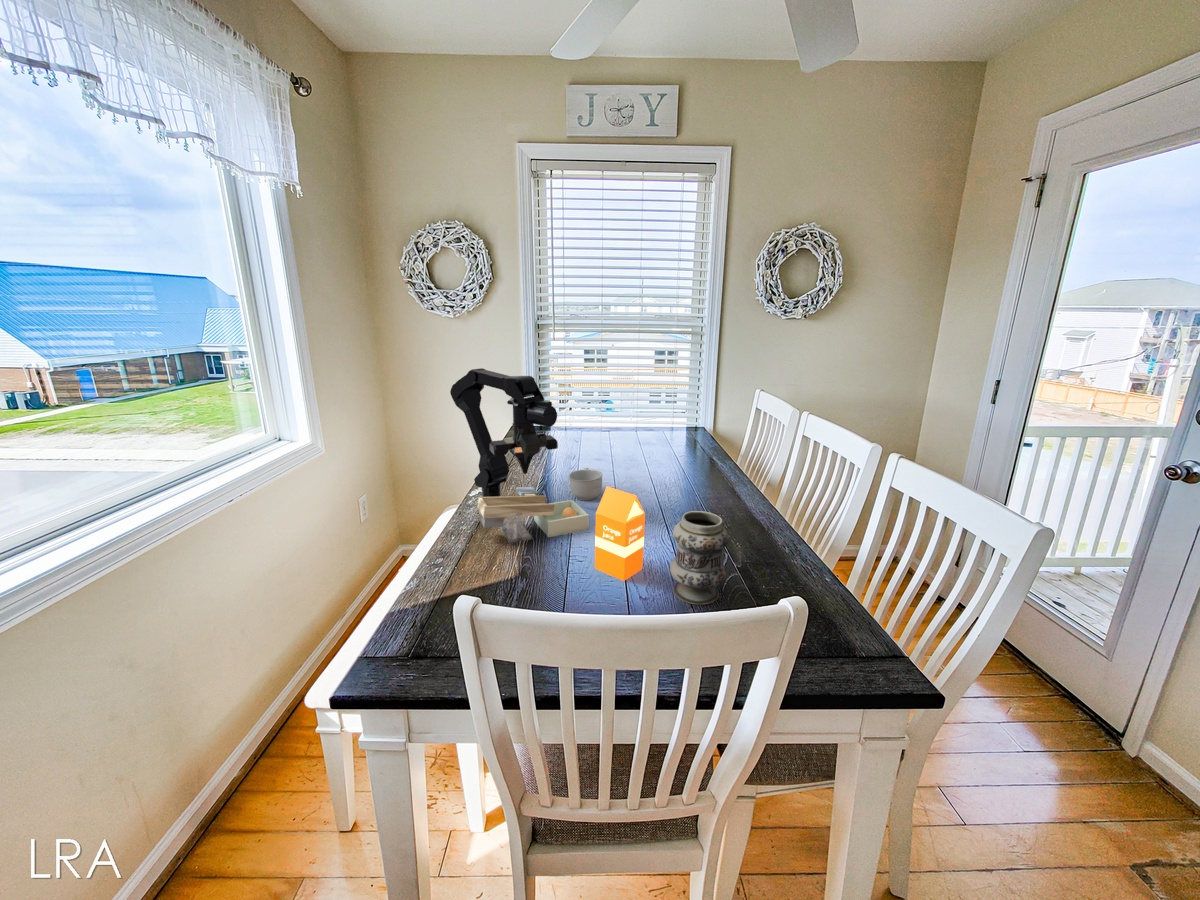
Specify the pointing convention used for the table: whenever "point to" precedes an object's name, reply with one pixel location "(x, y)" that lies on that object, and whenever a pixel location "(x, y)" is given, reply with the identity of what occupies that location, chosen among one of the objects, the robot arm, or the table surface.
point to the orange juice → (619, 534)
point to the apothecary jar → (699, 557)
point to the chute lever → (512, 506)
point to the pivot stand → (515, 529)
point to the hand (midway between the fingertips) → (524, 473)
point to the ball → (568, 512)
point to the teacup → (585, 484)
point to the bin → (563, 520)
